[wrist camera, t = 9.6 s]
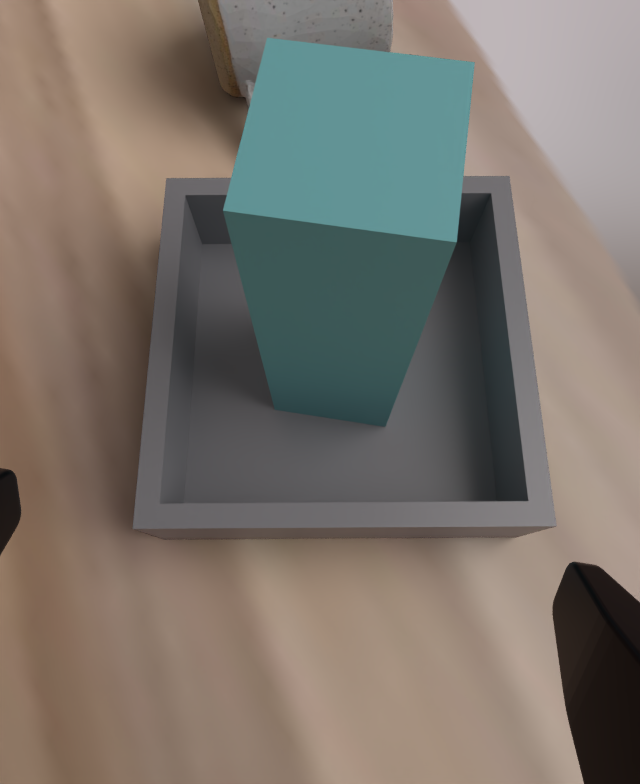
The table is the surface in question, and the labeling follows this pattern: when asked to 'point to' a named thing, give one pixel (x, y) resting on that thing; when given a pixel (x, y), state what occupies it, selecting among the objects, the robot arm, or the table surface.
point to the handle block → (346, 217)
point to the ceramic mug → (287, 31)
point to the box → (332, 436)
